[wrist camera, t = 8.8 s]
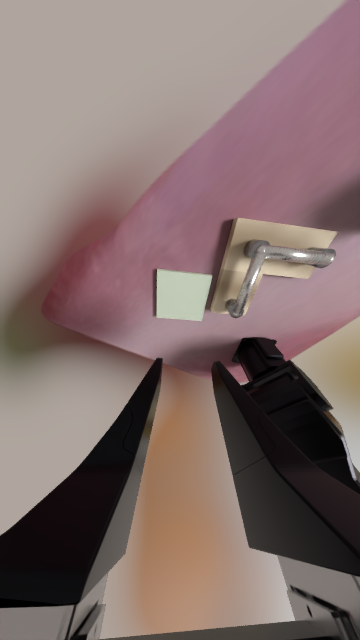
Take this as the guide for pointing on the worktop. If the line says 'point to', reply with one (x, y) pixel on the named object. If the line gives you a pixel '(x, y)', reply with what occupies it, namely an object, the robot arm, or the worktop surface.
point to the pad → (182, 294)
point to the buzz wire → (266, 259)
